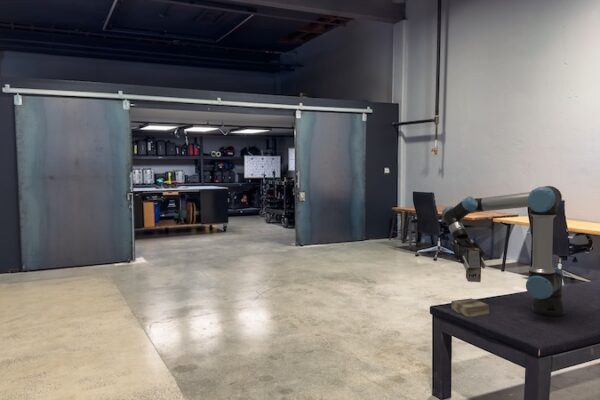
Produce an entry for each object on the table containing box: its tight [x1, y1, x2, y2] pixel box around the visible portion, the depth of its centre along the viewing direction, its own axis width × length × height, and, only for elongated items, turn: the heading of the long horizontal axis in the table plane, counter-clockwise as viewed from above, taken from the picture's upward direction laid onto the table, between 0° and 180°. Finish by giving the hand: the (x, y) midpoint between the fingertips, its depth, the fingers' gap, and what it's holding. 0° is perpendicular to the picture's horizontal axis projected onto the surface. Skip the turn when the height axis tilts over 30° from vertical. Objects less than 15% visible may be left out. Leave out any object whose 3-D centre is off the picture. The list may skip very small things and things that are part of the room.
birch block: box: [450, 298, 490, 318], centre depth 247 cm, size 13×13×5 cm
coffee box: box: [465, 247, 482, 283], centre depth 246 cm, size 9×6×16 cm
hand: (476, 267), depth 244 cm, fingers closed on coffee box, 9 cm apart
